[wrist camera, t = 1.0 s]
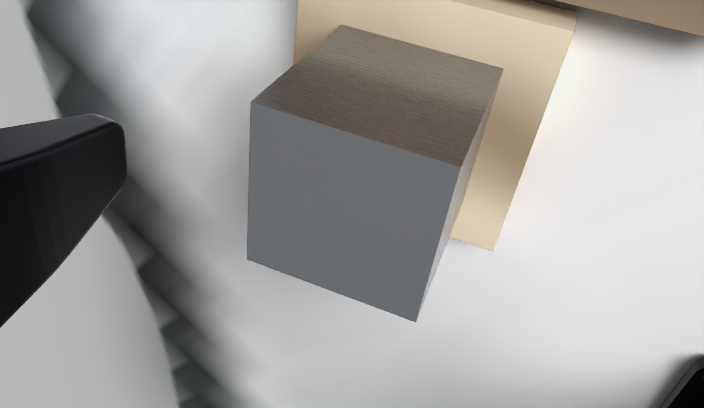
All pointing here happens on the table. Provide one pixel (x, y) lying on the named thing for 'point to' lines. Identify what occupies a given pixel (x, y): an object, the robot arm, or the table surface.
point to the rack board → (653, 12)
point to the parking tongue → (480, 45)
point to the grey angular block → (365, 165)
